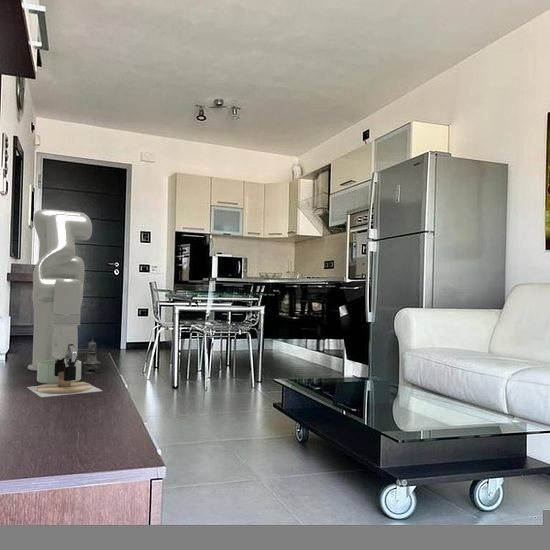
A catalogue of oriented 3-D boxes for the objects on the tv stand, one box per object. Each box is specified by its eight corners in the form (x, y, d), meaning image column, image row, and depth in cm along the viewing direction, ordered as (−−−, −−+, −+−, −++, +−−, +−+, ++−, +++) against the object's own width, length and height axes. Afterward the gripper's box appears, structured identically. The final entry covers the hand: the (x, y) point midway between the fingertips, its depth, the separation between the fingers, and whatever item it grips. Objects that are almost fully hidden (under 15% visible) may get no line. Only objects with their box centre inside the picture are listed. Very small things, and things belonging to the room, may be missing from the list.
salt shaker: (94, 374, 183) (95, 340, 183) (79, 373, 184) (80, 339, 184) (103, 371, 188) (104, 338, 189) (88, 371, 190) (89, 338, 190)
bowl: (33, 379, 170) (33, 361, 170) (73, 376, 178) (74, 358, 178) (43, 385, 160) (44, 366, 160) (85, 382, 168) (86, 363, 168)
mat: (26, 388, 156) (26, 386, 156) (84, 383, 166) (84, 381, 166) (41, 398, 142) (41, 397, 142) (102, 392, 153) (102, 390, 153)
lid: (30, 387, 155) (31, 371, 156) (81, 382, 165) (82, 367, 165) (44, 396, 144) (44, 378, 144) (98, 390, 153) (98, 374, 153)
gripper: (45, 319, 159) (43, 375, 159) (61, 322, 145) (59, 383, 145) (70, 318, 164) (69, 373, 163) (88, 321, 150) (87, 381, 149)
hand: (64, 378), depth 154 cm, fingers open, 9 cm apart
